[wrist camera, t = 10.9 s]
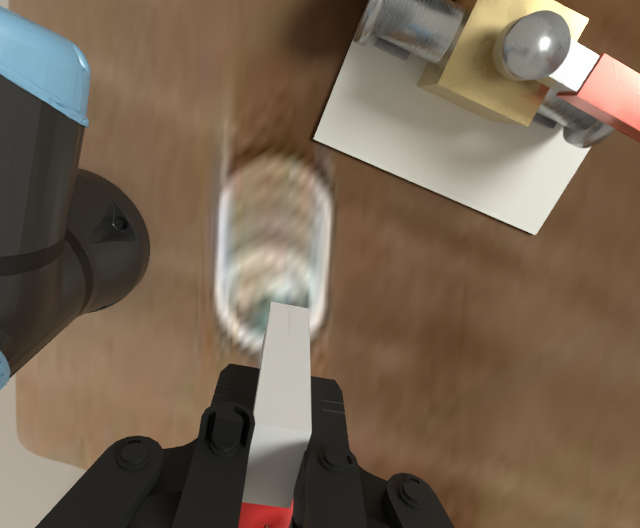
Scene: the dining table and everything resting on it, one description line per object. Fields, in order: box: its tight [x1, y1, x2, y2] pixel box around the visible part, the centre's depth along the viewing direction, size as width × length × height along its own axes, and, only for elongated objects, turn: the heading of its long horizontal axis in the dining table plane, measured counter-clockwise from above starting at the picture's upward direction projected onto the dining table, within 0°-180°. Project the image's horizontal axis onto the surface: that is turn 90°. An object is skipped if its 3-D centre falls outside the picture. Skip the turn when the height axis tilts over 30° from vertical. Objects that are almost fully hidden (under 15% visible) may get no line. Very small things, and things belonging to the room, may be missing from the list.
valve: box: [353, 0, 615, 148], centre depth 35 cm, size 22×8×10 cm, turn 67°
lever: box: [493, 10, 640, 143], centre depth 28 cm, size 17×4×6 cm, turn 65°
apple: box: [238, 500, 293, 528], centre depth 52 cm, size 10×10×10 cm
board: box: [313, 2, 591, 235], centre depth 41 cm, size 25×15×1 cm, turn 67°
